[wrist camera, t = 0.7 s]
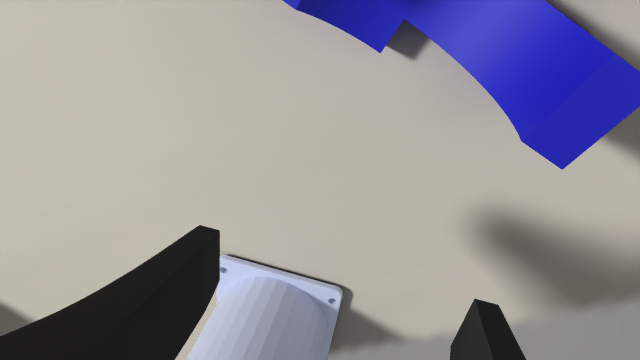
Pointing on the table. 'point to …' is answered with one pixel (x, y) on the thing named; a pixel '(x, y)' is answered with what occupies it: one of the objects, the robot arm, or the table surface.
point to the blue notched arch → (511, 62)
